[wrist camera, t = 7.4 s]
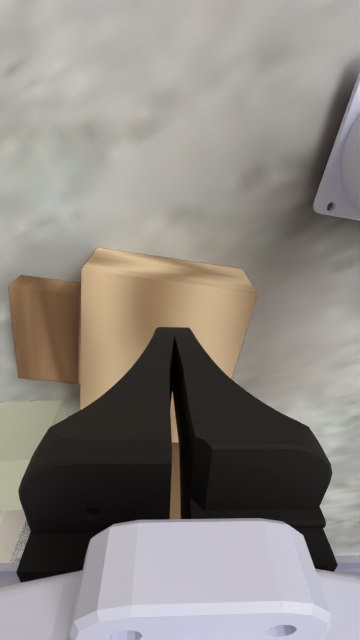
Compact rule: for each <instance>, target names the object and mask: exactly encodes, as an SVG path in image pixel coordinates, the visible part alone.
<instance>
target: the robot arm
mask: <svg viewBox="0 0 360 640" xmlns="http://www.w3.org/2000/svg"><path fill="white" fill-rule="evenodd" d="M331 202H332V204H333V205H332V208H331V209H330V210H327V205H328V204H329V203H331ZM313 210H314V211H315V212H317V213H319V214H324V215H330V216H335V217H341V218H347V219H353V220H359V221H360V71H359V74H358V77H357V80H356V83H355V86H354V88H353V91H352V94H351V97H350V100H349V103H348V106H347V108H346V111H345V114H344V117H343V120H342V123H341V126H340V128H339V131H338V134H337V137H336V140H335V143H334V146H333V148H332V151H331V154H330V157H329V160H328V163H327V166H326V168H325V171H324V174H323V177H322V180H321V183H320V186H319V188H318V191H317V194H316V197H315V200H314V203H313ZM172 392H173V401H174V409H175V417H176V425H177V433H178V443H179V466H180V514H181V519H170V498H171V475H172V435H171V415H170V409H171V399H172ZM331 476H332V469H331V464H330V462H329V460H328V458H327V456H326V455H325V453H324V451H323V449H322V447H321V445H320V444H319V442H318V440H317V439H316V437H315V436H314V434H313V433H312V431H311V430H310V428H309V427H308V426H306V425H304V424H302V423H300V422H298V421H296V420H294V419H292V418H290V417H288V416H286V415H284V414H282V413H280V412H278V411H276V410H275V409H273V408H271V407H269V406H268V405H266V404H264V403H263V402H261V401H260V400H258V399H257V398H255V397H254V396H252V395H251V394H250V393H248V392H247V391H245V390H244V389H243V388H241V387H240V386H239V385H238V384H236V383H235V382H234V381H233V380H232V379H231V378H229V377H228V376H227V375H226V374H225V373H224V372H223V371H222V370H221V369H220V368H219V367H218V365H217V364H216V363H215V362H214V361H213V360H212V359H211V357H210V356H209V355H208V354H207V352H206V351H205V350H204V348H203V347H202V346H201V344H200V343H199V341H198V340H197V338H196V337H195V335H194V333H193V332H192V330H191V329H190V328H189V327H158V328H156V329H155V332H154V334H153V336H152V338H151V340H150V342H149V344H148V345H147V347H146V348H145V350H144V351H143V353H142V354H141V356H140V357H139V358H138V360H137V361H136V362H135V363H134V365H133V366H132V367H131V368H130V369H129V371H128V372H127V373H126V374H125V375H124V376H123V377H122V378H121V379H120V380H119V381H118V382H117V383H116V384H115V385H114V386H112V387H111V388H110V389H109V390H108V391H107V392H106V393H104V394H103V395H102V396H101V397H99V398H98V399H97V400H95V401H94V402H92V403H91V404H89V405H88V406H86V407H85V408H83V409H82V410H80V411H78V412H77V413H75V414H73V415H71V416H70V417H68V418H66V419H64V420H62V421H60V422H59V423H57V424H55V425H53V426H51V427H49V429H48V430H47V432H46V433H45V435H44V437H43V438H42V440H41V442H40V443H39V445H38V447H37V448H36V450H35V452H34V454H33V456H32V458H31V460H30V462H29V464H28V467H27V469H26V471H25V473H24V476H23V478H22V480H21V483H20V486H19V489H18V492H19V500H20V503H21V505H22V508H23V511H24V514H25V517H26V519H27V522H28V525H29V528H30V530H31V532H30V535H29V538H28V541H27V544H26V546H25V549H24V552H23V555H22V557H21V560H20V563H0V640H360V555H359V556H334V554H333V552H332V549H331V547H330V544H329V542H328V540H327V537H326V535H325V532H324V530H323V528H324V527H325V525H326V522H325V518H324V516H323V514H322V511H321V509H320V507H319V506H320V504H321V501H322V499H323V497H324V495H325V492H326V490H327V488H328V486H329V483H330V480H331Z"/></svg>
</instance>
